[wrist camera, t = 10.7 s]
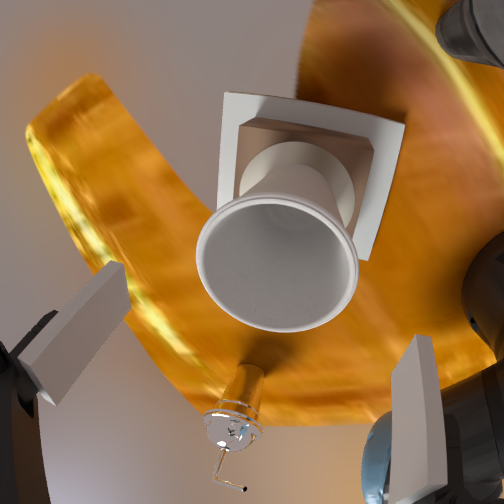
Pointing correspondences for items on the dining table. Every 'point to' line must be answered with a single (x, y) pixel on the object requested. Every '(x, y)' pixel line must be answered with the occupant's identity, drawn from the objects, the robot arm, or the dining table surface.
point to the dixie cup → (280, 253)
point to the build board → (324, 116)
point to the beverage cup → (474, 31)
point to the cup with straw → (236, 416)
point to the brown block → (305, 159)
